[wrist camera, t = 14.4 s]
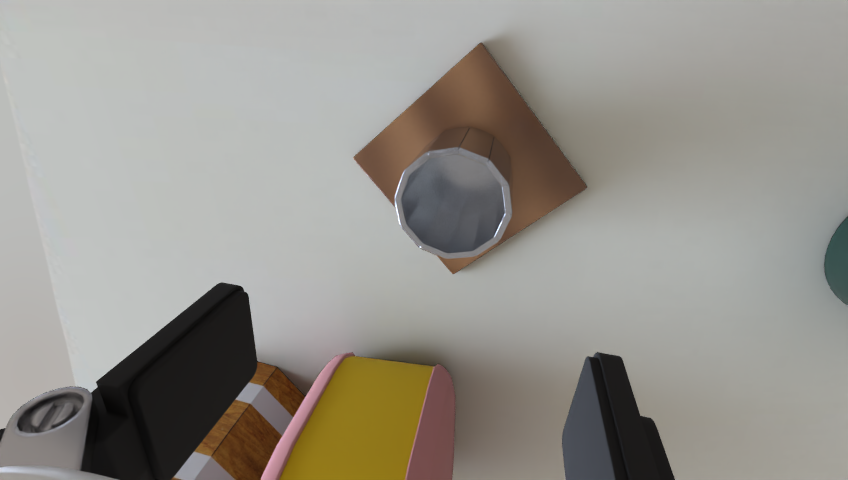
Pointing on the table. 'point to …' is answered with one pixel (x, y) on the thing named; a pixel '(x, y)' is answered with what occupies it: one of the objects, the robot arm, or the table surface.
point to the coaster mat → (487, 110)
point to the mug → (246, 430)
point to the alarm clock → (370, 424)
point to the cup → (457, 194)
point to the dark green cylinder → (838, 262)
